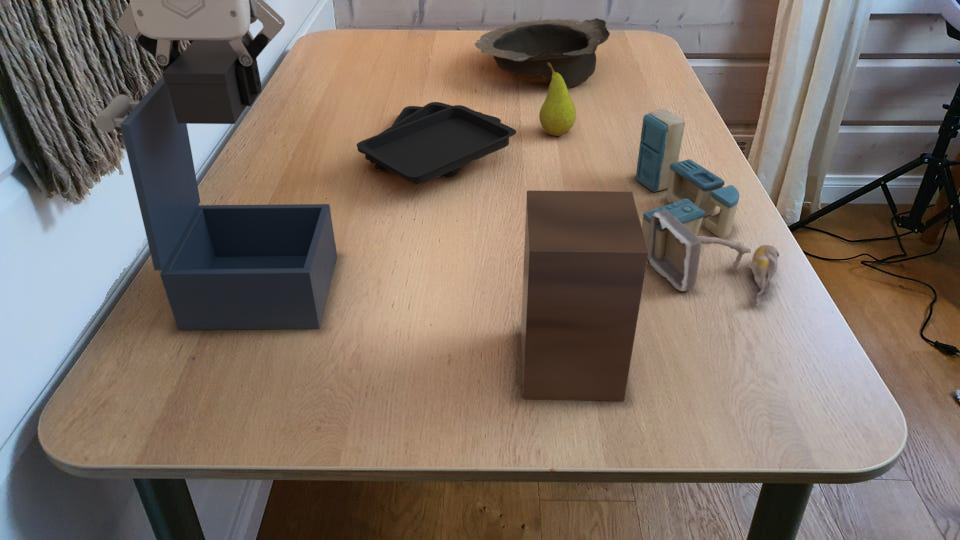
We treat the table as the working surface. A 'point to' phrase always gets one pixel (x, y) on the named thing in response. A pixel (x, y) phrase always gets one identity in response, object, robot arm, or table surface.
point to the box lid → (157, 165)
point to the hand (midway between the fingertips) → (218, 98)
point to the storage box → (252, 267)
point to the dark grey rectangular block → (205, 84)
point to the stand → (580, 293)
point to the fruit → (557, 107)
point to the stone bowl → (547, 48)
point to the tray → (435, 141)
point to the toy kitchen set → (680, 182)
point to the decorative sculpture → (686, 254)
